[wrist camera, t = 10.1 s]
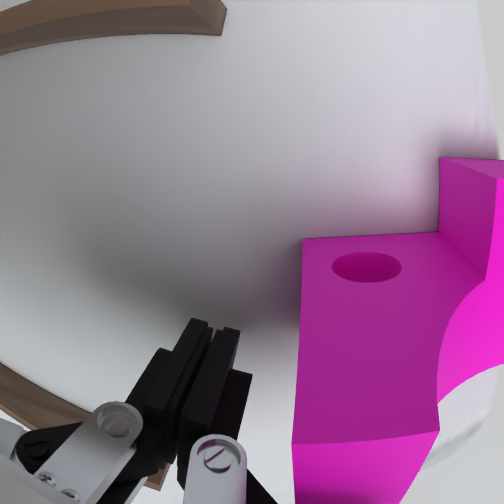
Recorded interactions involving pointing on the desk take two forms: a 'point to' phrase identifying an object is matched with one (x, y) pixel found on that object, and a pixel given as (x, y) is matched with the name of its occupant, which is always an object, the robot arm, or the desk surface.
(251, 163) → the desk surface
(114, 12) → the bay
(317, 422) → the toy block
